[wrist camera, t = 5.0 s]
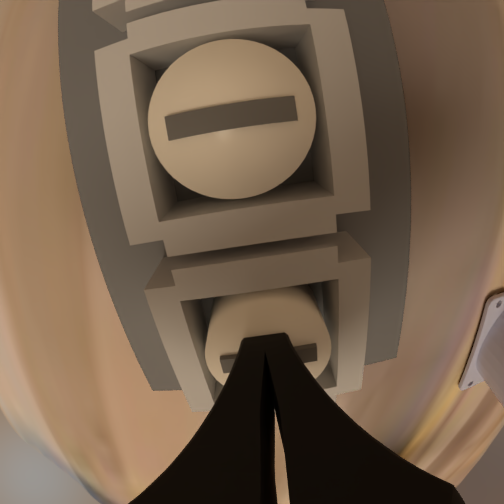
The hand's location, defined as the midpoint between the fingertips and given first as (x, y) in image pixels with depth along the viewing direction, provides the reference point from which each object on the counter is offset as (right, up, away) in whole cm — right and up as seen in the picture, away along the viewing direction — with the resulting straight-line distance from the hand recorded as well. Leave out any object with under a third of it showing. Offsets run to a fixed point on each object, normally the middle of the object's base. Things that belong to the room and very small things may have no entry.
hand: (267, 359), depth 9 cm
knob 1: (-1, +7, 0) cm, 7 cm away
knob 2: (0, +1, +2) cm, 3 cm away
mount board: (-1, +8, +1) cm, 8 cm away
